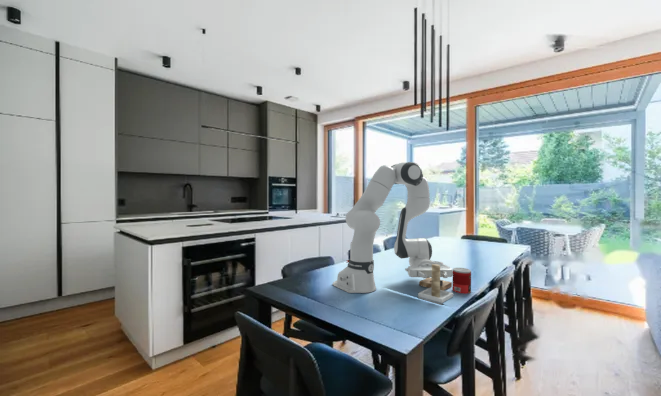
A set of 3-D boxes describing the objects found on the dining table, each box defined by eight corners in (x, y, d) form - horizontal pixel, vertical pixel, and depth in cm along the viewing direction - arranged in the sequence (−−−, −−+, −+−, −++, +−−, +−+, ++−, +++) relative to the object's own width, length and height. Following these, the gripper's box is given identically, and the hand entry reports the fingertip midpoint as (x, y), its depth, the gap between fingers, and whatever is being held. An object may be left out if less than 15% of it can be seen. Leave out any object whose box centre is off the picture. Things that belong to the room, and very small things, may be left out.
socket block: (419, 287, 148) (419, 277, 148) (428, 282, 155) (429, 273, 155) (442, 293, 140) (442, 282, 140) (451, 288, 147) (451, 278, 147)
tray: (418, 298, 133) (418, 292, 133) (430, 292, 141) (430, 287, 141) (442, 305, 125) (442, 299, 125) (453, 298, 133) (453, 293, 133)
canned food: (472, 296, 136) (473, 272, 136) (454, 295, 138) (454, 271, 137) (468, 290, 143) (468, 268, 143) (451, 289, 145) (451, 267, 145)
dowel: (429, 296, 133) (430, 265, 132) (433, 294, 135) (433, 263, 135) (437, 298, 130) (437, 266, 130) (441, 296, 133) (441, 265, 132)
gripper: (404, 262, 147) (412, 269, 133) (445, 261, 147) (457, 269, 133) (404, 274, 147) (412, 283, 133) (445, 274, 147) (457, 283, 133)
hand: (435, 276), depth 133 cm, fingers open, 8 cm apart
